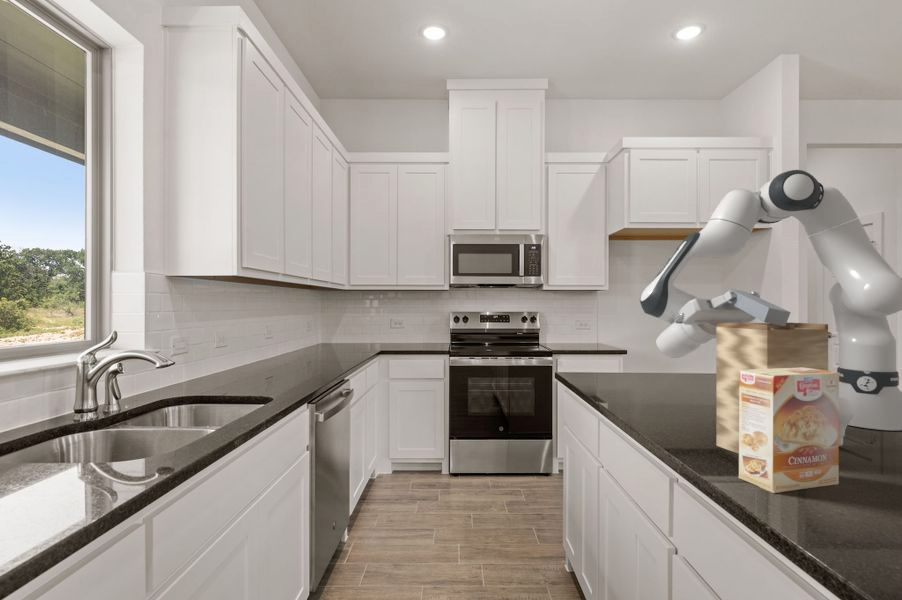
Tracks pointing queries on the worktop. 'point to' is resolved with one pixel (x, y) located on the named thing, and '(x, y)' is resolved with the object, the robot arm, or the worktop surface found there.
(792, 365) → the riser block
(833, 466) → the coffeecake box
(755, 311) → the grey rectangular bar
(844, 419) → the lightbulb
